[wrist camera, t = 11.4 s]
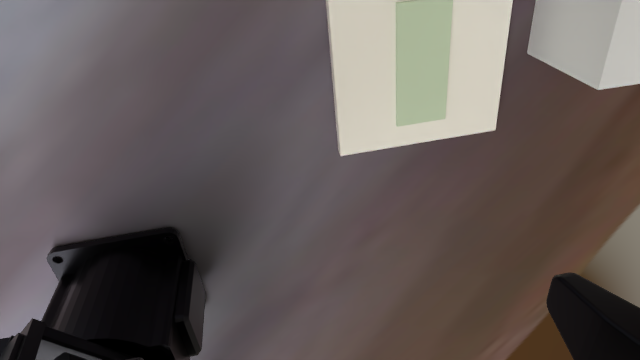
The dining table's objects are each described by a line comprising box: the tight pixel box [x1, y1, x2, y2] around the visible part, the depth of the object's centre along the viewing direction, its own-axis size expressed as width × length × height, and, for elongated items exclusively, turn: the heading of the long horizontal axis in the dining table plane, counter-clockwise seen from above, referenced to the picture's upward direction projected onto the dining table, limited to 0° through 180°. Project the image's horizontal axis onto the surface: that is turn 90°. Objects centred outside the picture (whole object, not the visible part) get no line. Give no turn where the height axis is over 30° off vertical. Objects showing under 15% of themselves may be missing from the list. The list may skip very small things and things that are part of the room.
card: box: [326, 0, 513, 156], centre depth 20 cm, size 8×8×1 cm
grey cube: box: [527, 0, 640, 90], centre depth 18 cm, size 5×5×5 cm
